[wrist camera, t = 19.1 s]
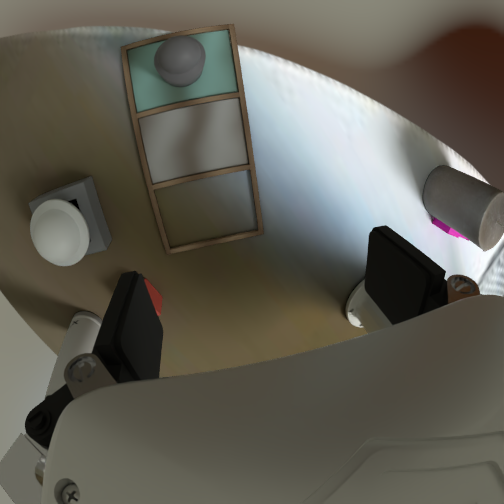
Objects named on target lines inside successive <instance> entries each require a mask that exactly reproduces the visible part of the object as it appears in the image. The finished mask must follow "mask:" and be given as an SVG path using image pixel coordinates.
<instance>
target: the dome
mask: <svg viewBox="0 0 504 504" xmlns="http://www.w3.org/2000/svg"><path fill="white" fill-rule="evenodd" d="M30 233H31V238H32V241H33V243H34V245H35V247H36V249H37V251H38V252H39V254H40V255H41V256H42V257H43V258H45V259H46V260H48V261H49V262H51V263H53V264H55V265H59V266H70V265H73V264H75V263H77V262H78V261H80V260H81V259H82V258H83V256H84V255H85V253H86V251H87V249H88V246H89V241H90V233H89V228H88V224H87V222H86V220H85V218H84V216H83V215H82V213H81V212H80V210H79V209H78V208H76V207H75V206H74V205H73V204H71V203H69V202H68V201H65V200H62V199H50V200H47V201H45V202H44V203H42V204H41V205H40V206H39V207H38V208H37V209H36V210H35V211H34V213H33V215H32V218H31V222H30Z"/></svg>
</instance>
